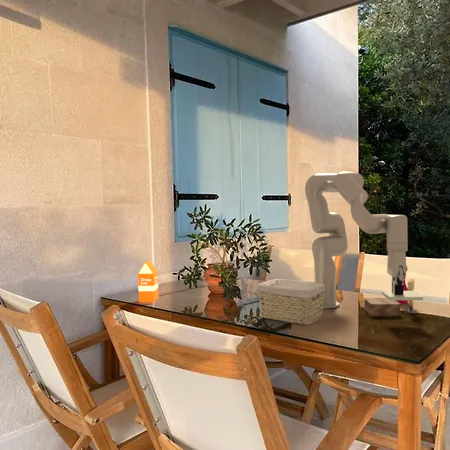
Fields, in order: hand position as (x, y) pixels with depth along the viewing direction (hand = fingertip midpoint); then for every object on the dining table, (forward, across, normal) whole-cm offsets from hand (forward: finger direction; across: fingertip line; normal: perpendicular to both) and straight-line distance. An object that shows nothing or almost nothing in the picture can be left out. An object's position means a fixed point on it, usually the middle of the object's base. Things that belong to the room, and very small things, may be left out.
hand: (397, 293), depth 180 cm
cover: (+1, 0, +2) cm, 2 cm away
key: (+10, -15, +9) cm, 20 cm away
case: (+11, -16, -2) cm, 20 cm away
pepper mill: (+12, -35, +11) cm, 39 cm away
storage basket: (+12, -7, -41) cm, 43 cm away
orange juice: (+11, -39, -109) cm, 117 cm away
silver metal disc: (+12, -16, +10) cm, 22 cm away
